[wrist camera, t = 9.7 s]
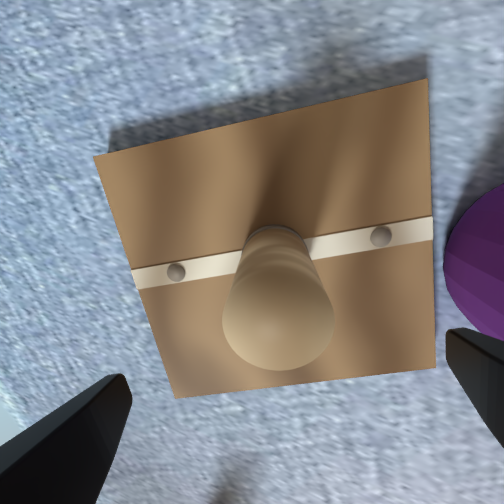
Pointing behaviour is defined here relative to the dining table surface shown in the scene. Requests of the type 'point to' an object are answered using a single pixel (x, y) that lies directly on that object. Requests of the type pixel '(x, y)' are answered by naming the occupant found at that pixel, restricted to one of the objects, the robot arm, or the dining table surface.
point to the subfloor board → (291, 215)
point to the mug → (479, 264)
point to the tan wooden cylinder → (277, 303)
